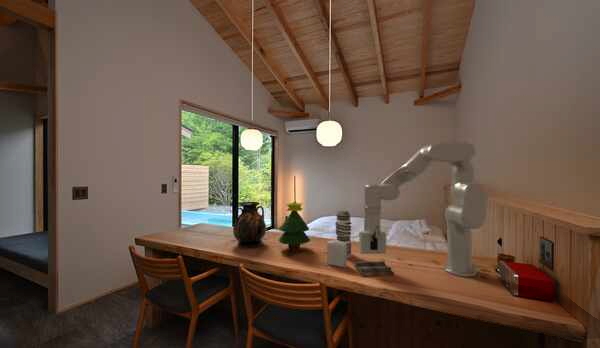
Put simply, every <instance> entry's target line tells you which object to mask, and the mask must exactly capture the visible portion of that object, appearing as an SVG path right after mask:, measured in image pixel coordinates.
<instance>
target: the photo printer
mask: <svg viewBox="0 0 600 348" xmlns="http://www.w3.org/2000/svg"><path fill="white" fill-rule="evenodd" d="M326 250H327V251H326V264H327V265H331V266H336V267H341V268H346V267H347V263H348V262H347V258H348V257H347V247H346V244H345V243H343V242H341V241H337V239H336V240H335V239H334V240H329V241H327V245H326Z"/></svg>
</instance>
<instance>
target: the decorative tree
mask: <svg viewBox="0 0 600 348" xmlns="http://www.w3.org/2000/svg"><path fill="white" fill-rule="evenodd" d="M303 204H304V203H303V202H296V201H293V202H288V203H286V206H287V207H288V208H287V210H286V212H287V211H289V212H290V214H289V215H288V216H287V218H286V219H285V221H284V222H283V224H282V225H281V226H280V228H279V231H280V232H283V233H282V234H281V236H280V238H279V239H278V242H279V243H281V244H284V245H288V251H289V252H290V253H291V252H292V253H293V252H294V253H296V252H301V245H304V244H307V243H309V242H310V241H311V239H310V237H308V235H307V234H306V233H305V232H308V231H310V227H309V226H308V225H307V223H306V222H305V221H304V219H303V218H302V216H301V215H300V214H299V212H301V211H302V210H303V208H302V207H301V206H302V205H303Z"/></svg>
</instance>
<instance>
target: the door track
mask: <svg viewBox="0 0 600 348" xmlns="http://www.w3.org/2000/svg"><path fill="white" fill-rule="evenodd" d="M353 265H354V268H355V269H356V270H357V272H358V273H359V274H360V276H361V277H385V276H386V277H387V276H388V277H390V276H395V272H394V271H393V270H392V267H391V266H388V265H387V264H386V262H385V261H384V260H383V261H378V260H377V261H356V262H355V263H354V264H353Z"/></svg>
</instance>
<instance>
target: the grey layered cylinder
mask: <svg viewBox="0 0 600 348" xmlns="http://www.w3.org/2000/svg"><path fill="white" fill-rule="evenodd" d="M351 231H352V222H351V213H350V212H349V211H348V210H339V211H337V213H336V221H335V233H336V234H335V235H336V241H341V242H343V243H345V244H346V247H347V258H350V257H351V256H352V243H351V236H352V232H351Z"/></svg>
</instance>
